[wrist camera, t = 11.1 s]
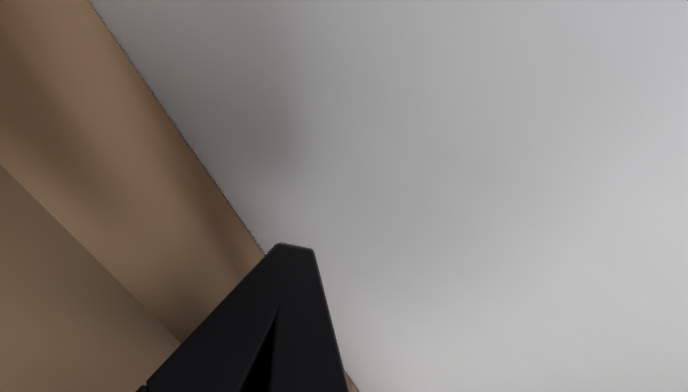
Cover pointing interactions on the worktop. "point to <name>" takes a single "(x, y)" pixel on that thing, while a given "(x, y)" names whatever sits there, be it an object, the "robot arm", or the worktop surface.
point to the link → (99, 212)
